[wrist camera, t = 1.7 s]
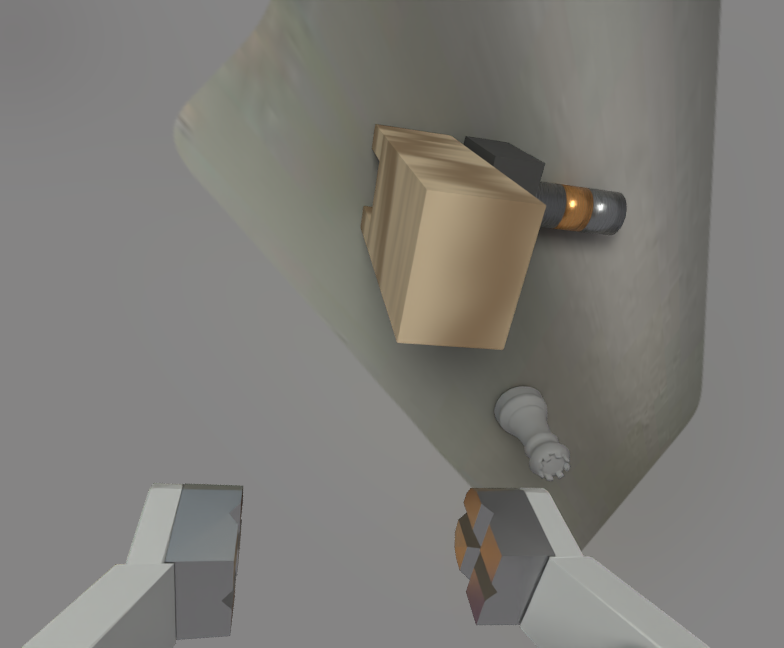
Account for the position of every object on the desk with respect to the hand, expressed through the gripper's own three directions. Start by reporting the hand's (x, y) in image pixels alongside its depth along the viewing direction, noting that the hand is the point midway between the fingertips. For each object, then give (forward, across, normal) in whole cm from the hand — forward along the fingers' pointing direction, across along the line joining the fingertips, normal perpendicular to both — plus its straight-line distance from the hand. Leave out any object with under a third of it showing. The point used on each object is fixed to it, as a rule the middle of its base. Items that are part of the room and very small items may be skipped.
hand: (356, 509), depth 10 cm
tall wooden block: (+29, -6, 0) cm, 30 cm away
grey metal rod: (+29, -14, 0) cm, 32 cm away
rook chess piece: (+29, -20, +18) cm, 40 cm away
